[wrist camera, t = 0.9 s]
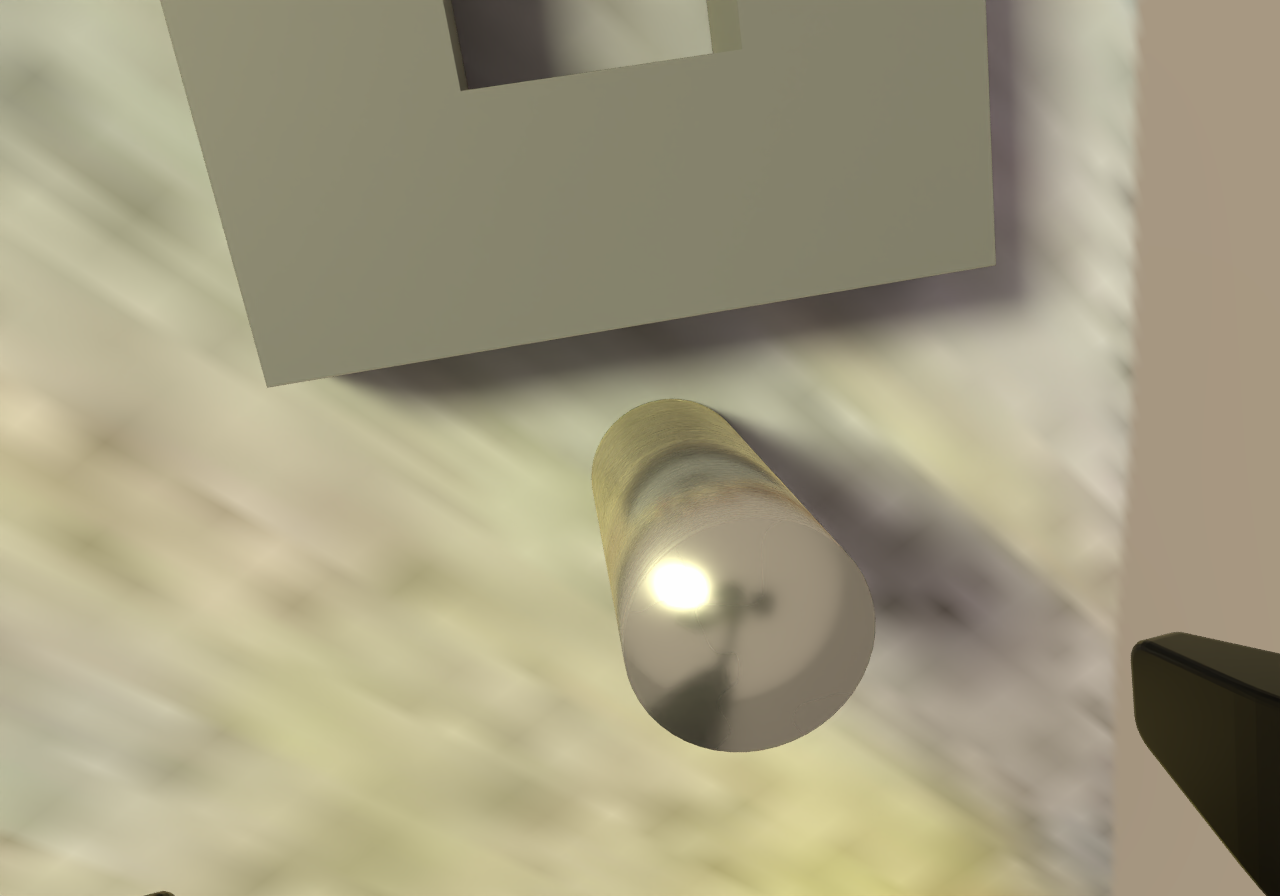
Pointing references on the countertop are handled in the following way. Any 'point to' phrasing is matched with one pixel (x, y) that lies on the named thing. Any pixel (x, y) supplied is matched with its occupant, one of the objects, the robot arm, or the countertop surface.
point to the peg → (724, 584)
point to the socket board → (576, 172)
